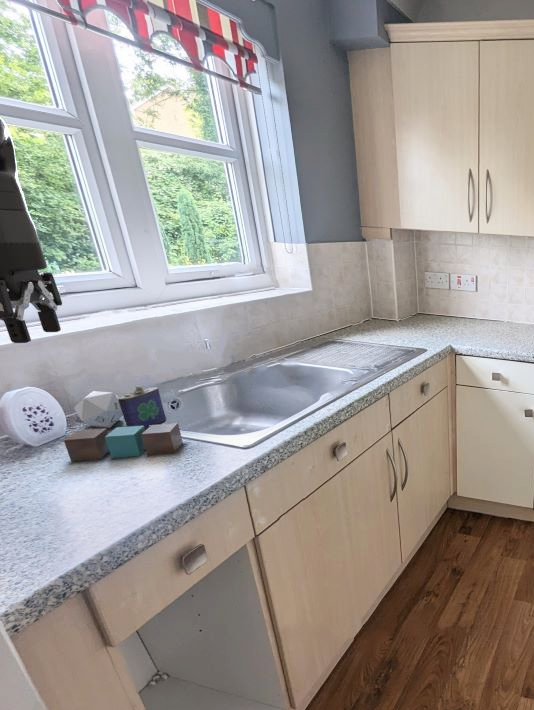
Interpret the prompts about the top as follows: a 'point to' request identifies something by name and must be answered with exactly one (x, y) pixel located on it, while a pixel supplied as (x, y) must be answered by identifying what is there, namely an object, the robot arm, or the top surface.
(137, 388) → the flask
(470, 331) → the top surface
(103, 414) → the die
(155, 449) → the block
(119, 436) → the teal block
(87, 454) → the block
